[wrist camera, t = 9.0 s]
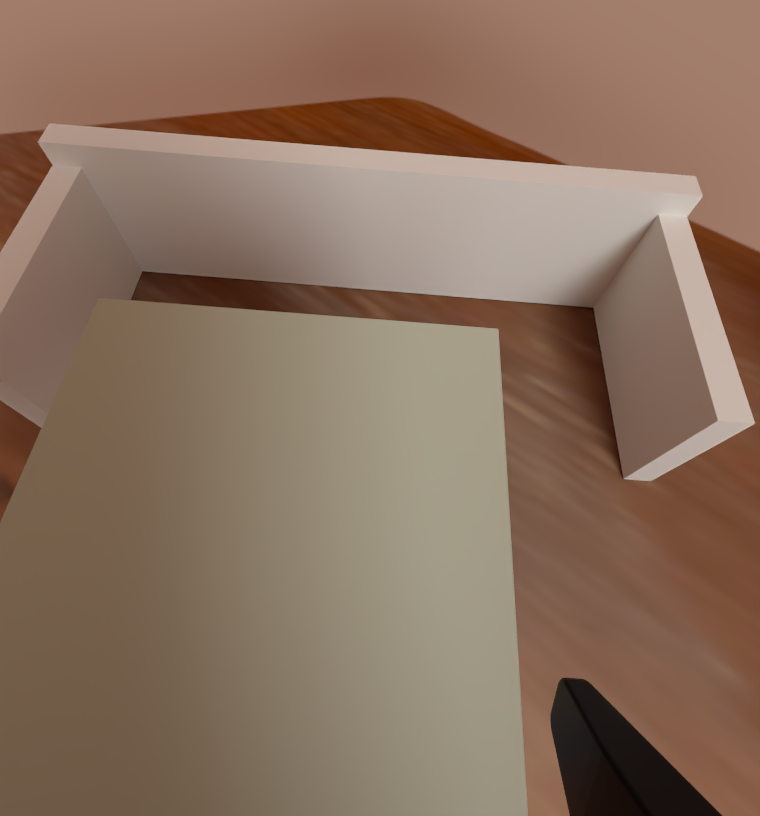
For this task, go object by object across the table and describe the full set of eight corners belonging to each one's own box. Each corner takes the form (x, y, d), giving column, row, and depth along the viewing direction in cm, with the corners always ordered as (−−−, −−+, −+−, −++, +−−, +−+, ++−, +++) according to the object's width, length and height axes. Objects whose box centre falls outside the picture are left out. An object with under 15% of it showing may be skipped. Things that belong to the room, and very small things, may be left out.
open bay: (650, 481, 20) (780, 409, 14) (49, 433, 20) (-90, 339, 14) (612, 292, 25) (695, 176, 19) (127, 252, 25) (49, 123, 19)
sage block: (397, 690, 16) (530, 862, 4) (253, 679, 16) (-129, 814, 3) (403, 542, 18) (498, 328, 6) (277, 533, 18) (98, 298, 6)
